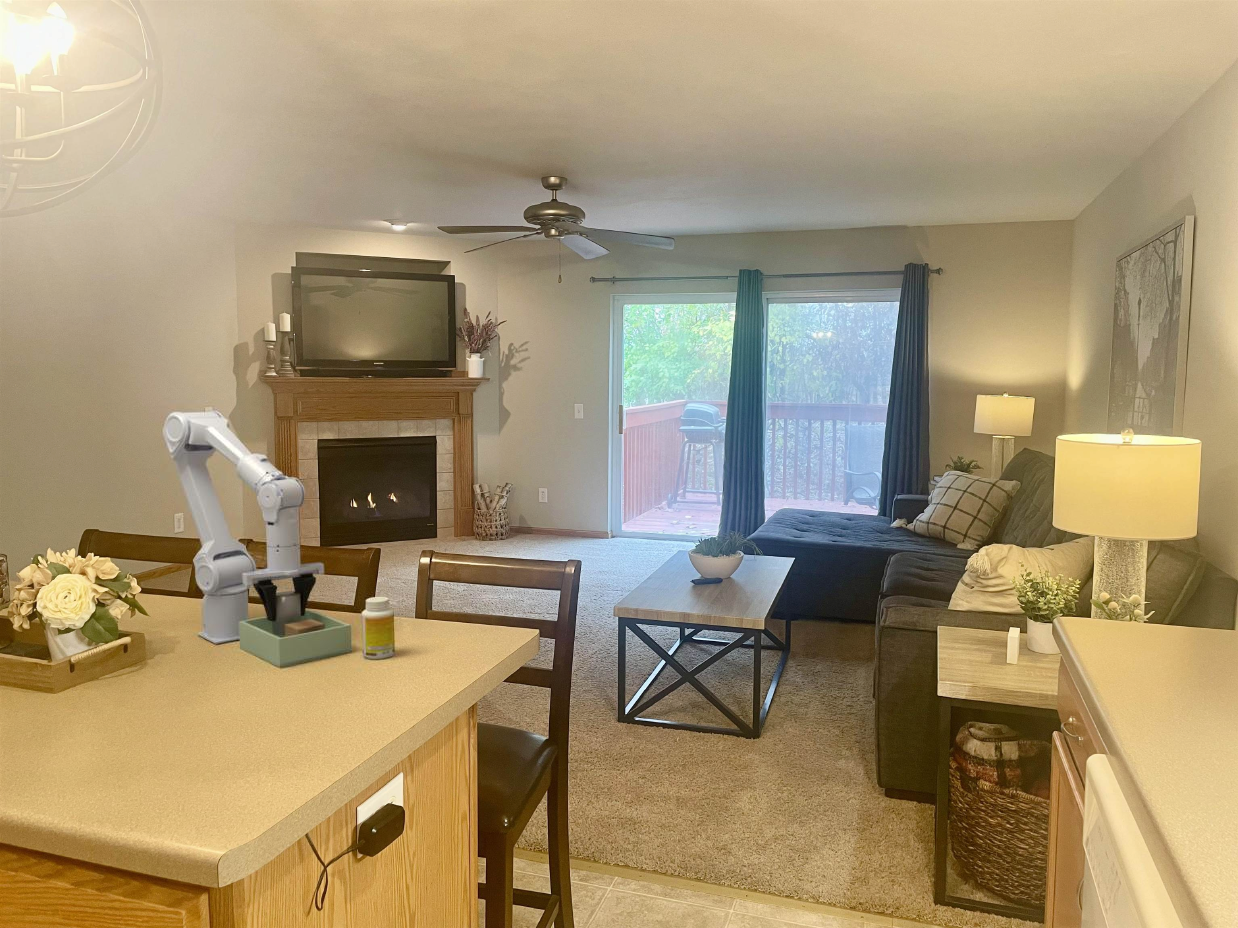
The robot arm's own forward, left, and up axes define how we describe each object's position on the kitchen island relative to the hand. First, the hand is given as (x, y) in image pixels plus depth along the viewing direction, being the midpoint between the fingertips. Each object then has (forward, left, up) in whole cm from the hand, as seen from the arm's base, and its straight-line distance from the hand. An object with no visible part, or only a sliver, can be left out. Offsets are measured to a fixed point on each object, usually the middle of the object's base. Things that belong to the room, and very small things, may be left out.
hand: (285, 617), depth 164 cm
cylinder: (0, 0, -3) cm, 3 cm away
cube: (+8, 0, -5) cm, 9 cm away
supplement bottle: (+18, +9, -6) cm, 20 cm away
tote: (+4, 0, -5) cm, 6 cm away
